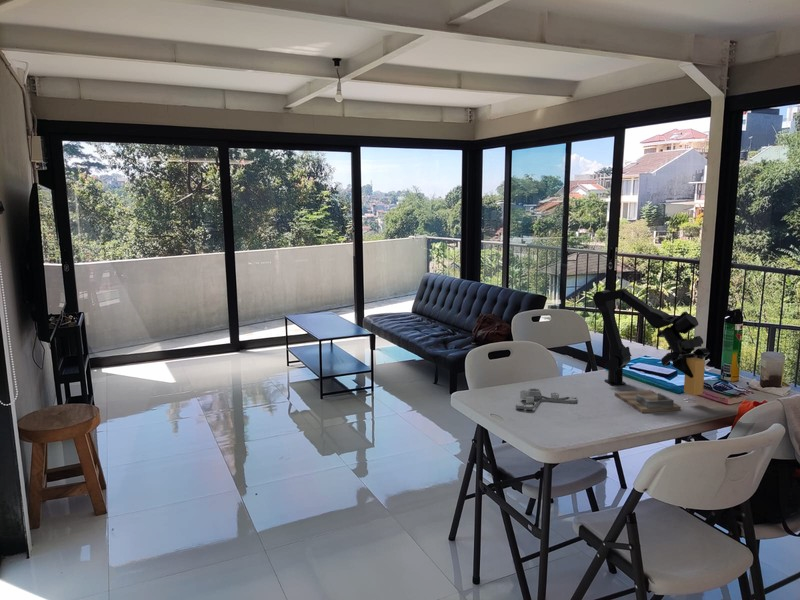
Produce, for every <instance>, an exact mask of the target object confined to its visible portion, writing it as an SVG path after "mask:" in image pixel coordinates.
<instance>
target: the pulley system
mask: <svg viewBox="0 0 800 600" xmlns="http://www.w3.org/2000/svg"><path fill="white" fill-rule="evenodd" d="M542 397H544V398H542ZM519 398H520V399H521V400H525V402H524V403H523V402H522V403H515V408H516V409H518V410H528V411H529V410H530V411H532V410H533V409H535V408H536V407H537V406H538V405H539V404H540V403H541V402H546V401H553V402H552V403H562V402H564V403H565V404H566V403H567V404H577V403H578V400H577V396H575V395H569V396H565V397H560V393H559V392H551V393H550V397H548V396H544V395H543V394H542V392H541V389H540V388H529V389H527V390H520V393H519ZM546 398H547V399H546ZM567 398H568V399H567ZM537 399H539V400H537ZM563 399H564V400H563ZM535 401H537V402H536V403H535ZM540 401H541V402H540ZM576 402H577V403H576ZM533 404H534V405H533Z"/></svg>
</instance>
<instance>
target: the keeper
mask: <svg viewBox="0 0 800 600" xmlns="http://www.w3.org/2000/svg"><path fill="white" fill-rule="evenodd" d="M614 397H616V398H618V399H619V400H621V401H622V402H624V403H626V404H628V406H631V407H632V408H634V409H635V410H636V411H638V412H640V413H642V412H644V413H655V412H658V413H659V412H666V411H667V412H668V411H670V412H671V411H680V410H682V408H681V406H680V405H679V404H677V403H676V402H674V399H672V398H671V397H668V396H666V395H665V394H663V393H661V392H658V393H657V392H656V391H654V390H651V389H644V390H643V389H642V390H629V391H617V392H614Z"/></svg>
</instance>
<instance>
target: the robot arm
mask: <svg viewBox="0 0 800 600" xmlns="http://www.w3.org/2000/svg"><path fill="white" fill-rule="evenodd" d="M615 300H620V301H622V302H623V303H624V304H626V305H627V306H629V307H630V308H632V309H633V310H635V311H636V312H637V313H639V314H640V315H641V316H643V317H644V319H645V321H646V322H647V323H648V325H650V326H651V328H653V329H659V330H658V332H657V333H656V334H657V335H656V337H657V338H664V340H665V341H666V343H667V345H668V347H667V350H668V351H669V350H671V351H672V352H671V351H670V352H667V353H666V354H665V355H664V356H663V357H662V358H660V359H661V360H660V361H661V364H662V366H663V367H668V366H670V365H671V367H672V368H674V369H676V370H678V371H679V372H681V373H683V374H684V375H685V374H686V375H687V376H689V377H690V378H692V377H693V374H692V372H691V370H690V368H689V367H688V365H687V363H686V358H693V357H696V358H700V359H703V360H705V358H706V357H708V355H710V353H711V352H710V351H709V349H708V348H707V347H702V345H704V339H703V338H702V336H700V335H696V336H694V337H693V338H690V339H687V338H684V337H683V336H682V334H683V335H687V334H688V333H690V332H691V331H692V330H694V329H695V328H696V327H698V326H699V321H698V320H697V318H696V317H695V316H693V314H691V313H688V311H683V312H681V314H680V315H678V316H677V317H674V316H671V315H670V314H669V313H668V312H666V311H663V310H661V309H658V308H656V307H653V306H651V305H649V304H647V303H646V302H645V301H643V300H642V299H640V298H639V297H638V296H636V295H634V294H633V293H632V292H631V291H629V290H628V289H627V288H619V289H617V290H612V291H610V290H609V289H604V290H599V291H596V292H595V293H593V296H592V301H593V302H594V305H595V307H596V309H597V311H599V312H600V314H601V317H602V321H603V323H604V328H605V332H606V335H607V338H608V342H609V343H608V344H609V352H608V356H609V359H608V361H606V362H604V364H603V366H604V369H605V370H607V379H604V382H606V383H607V384H609V385H611V386H617V385H618V386H620V385H626V384H627V383H626V382H625V381H623V380H624V379H623V378H624V377H623V374H624V369H625V368H626V367H627V365H628V364H630V362H631V360H632V358H631V357H632V356H633V355H632V354H631V351H630V347H629V346H625V345H624V344H623V342H622V338H621V334H620V330H619V326H618V323H617V319H616V317H615V313H614V306H615ZM662 328H663V329H662ZM699 347H700V348H699ZM696 348H697V349H696ZM671 362H672V364H671Z"/></svg>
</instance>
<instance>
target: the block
mask: <svg viewBox="0 0 800 600" xmlns="http://www.w3.org/2000/svg"><path fill="white" fill-rule="evenodd" d="M686 363H687V365H688V367H689V368H690V370H691V372H692V374H693V377H692V378H690V377H689V376H687V375H686V374H684V383H683V384H684V385H683V393H685V394H687V395H690V396H693V397H695V396H701V395H703V394H704V386H705V385H704V384H705V382H704V381H705V367H706V359H700V358H696V357H693V358H686Z"/></svg>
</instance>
